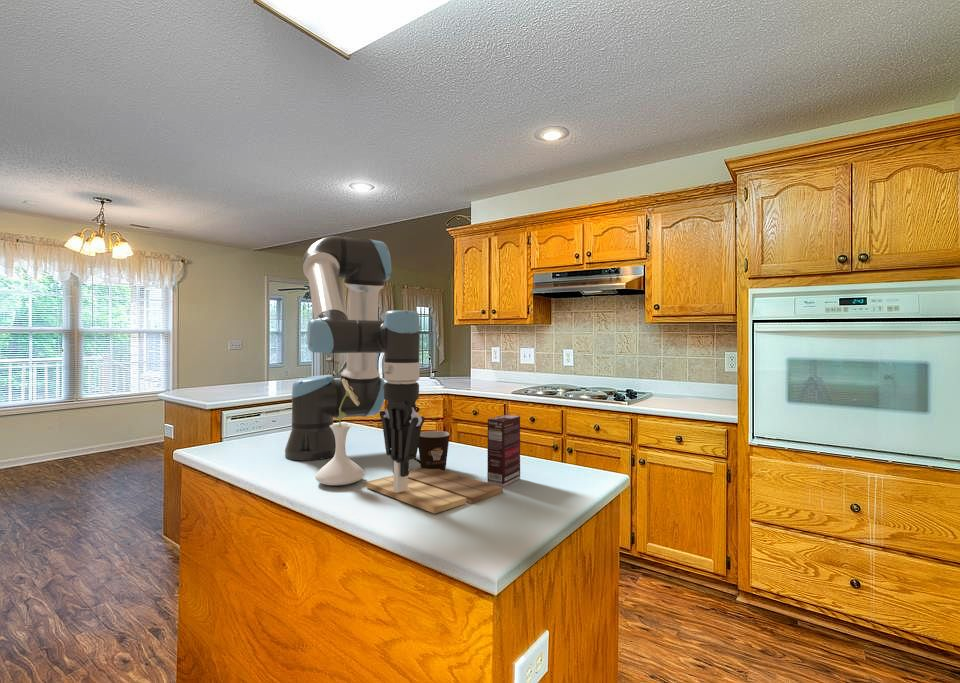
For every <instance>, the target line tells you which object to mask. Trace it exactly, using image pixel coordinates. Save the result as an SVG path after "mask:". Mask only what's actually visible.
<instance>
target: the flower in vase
mask: <svg viewBox="0 0 960 683" xmlns="http://www.w3.org/2000/svg"><path fill="white" fill-rule="evenodd" d="M342 383H343V386H344V388H345V390H346V395H345V396H344V398H343V400H342V402H341V405H340V408H339V417H337V418H335V420H338V422H339V423H333V425H330V428H331V429H332V430H333V433H334V436H335V442H336V451H335V455H334V456H333V457H331V460H329V461H328V462H327V463H326V464H325V465H323V466H322V467H321V468H320V469H319V470H318V471H317V472H316V475H315V477H314V478H315V480H316V481H317V483H320V484H322V485H325V486H326V485H327V486H346V485H350V484H351V485H352V484H354V483H356V482H358V481H361V480H362V479H363V478H364V476H365V471H364V469H363V468H362V467H361V466H360V465H358V464H357V463H356V462H355V461H354V460H352V459H350V458H349V456H348V455H347V452H346V439H347V435H348V432H349V430H350V429H351V427H352V424H349V423H342V421H341V420H343V419H345V418H346V417H345V416H346V415H347V414H345V413H344V412H342V411H341V406H342V404H343V402H344V400H345V398H346V396H350V398H351V399H352V401H353V402H354V403H355V404H356V405H357V406H359V404H360V403H359V401H358V400H357V399H358V397H357V396H356V395H355V394H354V393H353V388H352V387H350V388H349V384H348V382H347V380H345V379H344V378H343V379H342ZM340 414H341V415H340Z"/></svg>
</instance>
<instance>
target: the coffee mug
mask: <svg viewBox="0 0 960 683" xmlns="http://www.w3.org/2000/svg"><path fill="white" fill-rule="evenodd" d="M450 435H451V434H450V433H449V432H447V431H444V430H443V431H441V430H427V431H421V432H420V438H419V444H418V454H419V455H418V456H419V458H417V457H416V458H415V459H413V461H416V462H417V463H419V465H420V467H422V468H426V469H441V470H444V471H446V468H447V459H448V451H449V444H450Z"/></svg>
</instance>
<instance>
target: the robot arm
mask: <svg viewBox="0 0 960 683" xmlns="http://www.w3.org/2000/svg"><path fill="white" fill-rule="evenodd" d="M302 271H303V274H304V276H305V278H307V280H308V285H309V293H310V298H311V304H312V311H313V312H312V313H313V317H314V318H313V319H309V321H308V323H307V330H306V339H307V348H308V350H309V351H310V352H311V353H319V354H320V353H321V354H323V353H324V354H346V367H345V369H344V370H343V371H342V372H341V373H340V378H339V379H335V377H334V375H332V374H324V375H322V374H321V375H313V376H308V377H307V376H306V377H302V378H298V379H297V380H295V381H294V382H293V384H292V390H291V395H290V397H291V399H292V400H291V431H290V433H289V437H288V440H287V443H286V446H285V449H284V453H285V454H284V457H285V458H286V459H288V460H292V461H317V460H323V459H324V460H325V459H328V458H333V457H334V455H335V451H336V442H335V436H334V433H333V430H332V429H331V428H330V425H333V424H334V419H336V418H337V417H339V408H340V405H341V402H342V400H343V398H344V396H345V395H346V390H345V388H344V386H343V383H342V379H343V378H344V379H345V380H347V382H348V384H349V388H350V387H352V388H353V393H354V394H355V395H356V396H357V397H358V399H357V400H358V401H359V403H360V404H359V406H357V405H356V404H355V403H354V402H353V401H352V399H351V398H350V396H346V398H345V400H344V402H343V404H342V406H341V411H342V412H344V413H345V414H347V415H346V416H345V417H344V418H353V417H354V418H357V417H369V416H376V415H378V414H379V417H380V420H381V422H382V432H383V439H384V446H385V447H384V448H385V453H386V455H387V456H390V459H391V460H392V473H393V476H394V484H393V491H395V492H401V491H404V490H408V475H409V470H410V461H412V460H414V459H415V458H416V459H417V454H418V451H419V448H418V444H419V438H420V432H422V427H423V425H424V423H425V419H426V418H425V417H424V416H420V415H419V414H418V412H417V411H418V409H417V405H416V404H417V403H416V401H417V400H419V398H420V384H419V382H418V381H419V380H420V343H421V341H420V340H421V336H420V335H421V330H422V329H421V328H422V327H421V323H420V322H421V320H420V314H419V313H418V312H417V311H415V310H398V309H397V310H396V309H393V310H387V311H386V312H385V315H384V320H378V313H379V312H378V311H379V296H380V294H379V293H380V291H381V290H382V289H383V288H384V287H385V282H387V281H388V280H390V278H391V273H392V260H391V254H390V249H389V248H388V245H387V244H386V243H385V242H383V241H382V240H375V239H371V238H369V239H367V238H356V237H345V236H337V235H336V236H335V235H332V236H331V235H330V236H326V237H323V238H321V239H318V240H317V241H315V242H313V243H312V244H311V245H310V246H309V247H308V249H307V250H306V252H305V253H304V254H303V258H302ZM339 278H344V281H343V282H344V285H345V287H346V288H347V289H348V290H349V291H348V292H349V294H348V296H349V297H348V310H347V306H346V303H345V299H344V295H343V291H342V287H341V283H340V279H339ZM347 311H348V312H347ZM383 353H384V361H383V362H384V375H383V376H384V378H381V377H380V376H381V374H380V372H379V371H378V370H377V369H376V360H377V359H376V357H377V354H383ZM384 380H385V381H386V382H385V381H384ZM385 401H387V404H386V409H384V410H382V408H383V406H384V402H385ZM340 415H341V414H340Z"/></svg>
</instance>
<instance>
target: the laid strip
mask: <svg viewBox="0 0 960 683" xmlns="http://www.w3.org/2000/svg"><path fill="white" fill-rule="evenodd" d="M408 479H411V480H414V481H417V482H420V483H423V484H426V485H429V486H432V487H435V488H438V489H441V490H444V491H447V492H450V493H453V494H456V495H459V496H462V497H465V498H466V504H469V505H473V504H476V503H478V502H481V501H484V500H487V499H489V498H492V497H495V496H497V495H500V494H503V493H504V487H500V486H496V485H493V484H489V483H487V482H485V481H482V480H478V479H474V478H472V477H468V476H464V475H461V474H457V473H454V472H451V471H447V470H445V471H444V470H441V469H426V468H422V467H421V466H420V467H417V468H412V469H409V475H408Z"/></svg>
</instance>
